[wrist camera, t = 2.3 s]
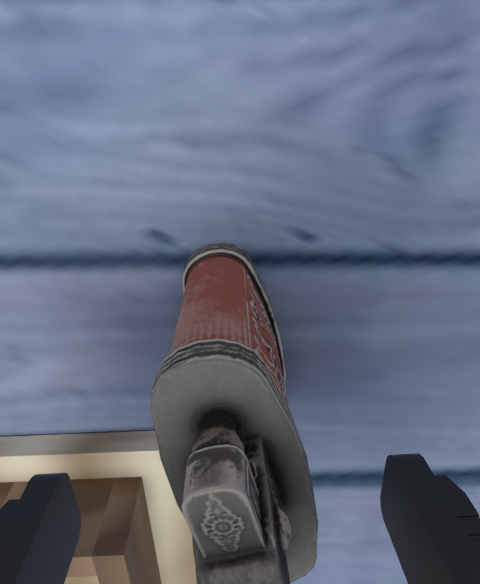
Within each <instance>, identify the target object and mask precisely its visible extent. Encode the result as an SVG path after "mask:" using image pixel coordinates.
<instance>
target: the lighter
mask: <svg viewBox="0 0 480 584" xmlns="http://www.w3.org/2000/svg"><path fill="white" fill-rule="evenodd" d="M182 286H183V293H184V296H183V300H182V305H181V309H180V313H179V318H178V322H177V326H176V331H175V335H174V339H173V343H172V348H171V352H170V355H169V356H168V357H167V358H165V360H164V361H163V363H162V365H161V366H160V368H159V370H158V371H157V374H156V378H155V382H154V385H153V389H152V393H151V405H150V408H151V414H152V419H153V424H154V429H155V434H156V439H157V444H158V449H159V454H160V459H161V462H162V465H163V467H164V470H165V473H166V476H167V478H168V481H169V484H170V487H171V489H172V492H173V495H174V498H175V500H176V503H177V506H178V507H179V509H180V511H181V512H182V514H183V516H184V518H185V520H186V522H187V524H188V526H189V529H190V531H191V533H192V535H193V536H192V541H193V552H194V558H195V567H196V579H197V584H290V583H291V582H293V581H295V580H297V579H299V578H301V577H303V576H305V575H306V574H307V573H308V572H309V571H310V570H311V569H312V568H313V567H314V564H315V562H316V559H317V530H318V520H317V513H316V507H315V500H314V493H313V487H312V480H311V475H310V470H309V466H308V461H307V457H306V453H305V450H304V447H303V445H302V442H301V439H300V436H299V434H298V431H297V428H296V425H295V422H294V420H293V417H292V414H291V411H290V409H289V405H288V400H287V395H286V369H285V363H284V356H283V350H282V344H281V338H280V333H279V328H278V324H277V321H276V318H275V315H274V312H273V309H272V306H271V303H270V300H269V297H268V294H267V291H266V289H265V287H264V285H263V283H262V281H261V279H260V277H259V275H258V273H257V271H256V269H255V267H254V265H253V263H252V261H251V259H250V257H249V256H248V255H247V253H246V252H245V251H244V250H243V249H241V248H239V247H238V246H236V245H234V244H229V243H224V242H220V243H211V244H208V245H206V246H203V247H201V248H199V249H198V250H196V251H195V252H194V253H193V254H192V255H191V256H190V257H189V259H188V261H187V263H186V265H185V268H184V272H183V280H182Z"/></svg>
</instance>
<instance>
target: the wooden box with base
mask: <svg viewBox="0 0 480 584" xmlns="http://www.w3.org/2000/svg"><path fill="white" fill-rule="evenodd" d="M50 473H67V474H68V475H69V477H70V480H71V483H72V486H73V490H74V493H75V496H76V500H77V503H78V506H79V510H80V514H81V529H80V535H79V539H78V543H77V546H76V549H75V552H74V555H73V558H72V561H71V564H70V567H69V570H68V573H67V576H66V579H65V582H64V584H197V579H196V567H195V558H194V552H193V541H192V536H193V535H192V533H191V531H190V529H189V526H188V524H187V522H186V520H185V518H184V516H183V514H182V512H181V511H180V509H179V507H178V506H177V503H176V500H175V498H174V495H173V492H172V489H171V487H170V484H169V481H168V478H167V476H166V473H165V470H164V467H163V465H162V462H161V459H160V454H159V449H158V444H157V439H156V434H155V431H133V432H108V433H82V434H57V435H32V436H6V437H0V508H1V507H2V506H3V505H4V504H5V503H6V502H7V501H8V500H12V499H20V498H21V496H22V494H23V492H24V490H25V488H26V486H27V484H28V482H29V480H30V479H31V477H32V476H34V475H36V474H50Z"/></svg>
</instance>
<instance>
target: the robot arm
mask: <svg viewBox="0 0 480 584" xmlns="http://www.w3.org/2000/svg"><path fill="white" fill-rule="evenodd" d="M380 501H381V510H382V515H383V519H384V522H385V525H386V527H387V530H388V532H389V535H390V538H391V540H392V543H393V545H394V548H395V551H396V553H397V556H398V558H399V561H400V564H401V566H402V569H403V571H404V574H405V576H406V579H407V582H408V584H480V518H479V514H478V513H477V511H476V509H475V508H474V506H473V505H472V503H471V501H470V500H469V498H468V497H467V495H466V493H465V492H463V491H462V490H461V489H460V488H459V487H458V486H457V485H456V484H455V483H454V482H452V481H451V480H450V479H449V478H448V477H447V476H446V475H442V476H434V475H433V473H432V471H431V470H430V468H429V466H428V464H427V463H426V461H425V459H424V458H423V457H422V456H421V455H420V454H401V455H389V456H388V457H387V460H386V465H385V471H384V478H383V484H382V490H381V497H380ZM80 529H81V514H80V510H79V506H78V503H77V500H76V496H75V493H74V490H73V486H72V483H71V480H70V477H69V475H68V474H67V473H50V474H36V475H34V476H32V477H31V479H30V480H29V482H28V484H27V486H26V488H25V490H24V492H23V494H22V496H21V498H20V499H12V500H8V501H7V502H6V503H5V504H4V505H3V506H2V507H1V508H0V584H64V582H65V579H66V576H67V573H68V570H69V567H70V564H71V561H72V558H73V555H74V552H75V549H76V546H77V543H78V539H79V535H80Z"/></svg>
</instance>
